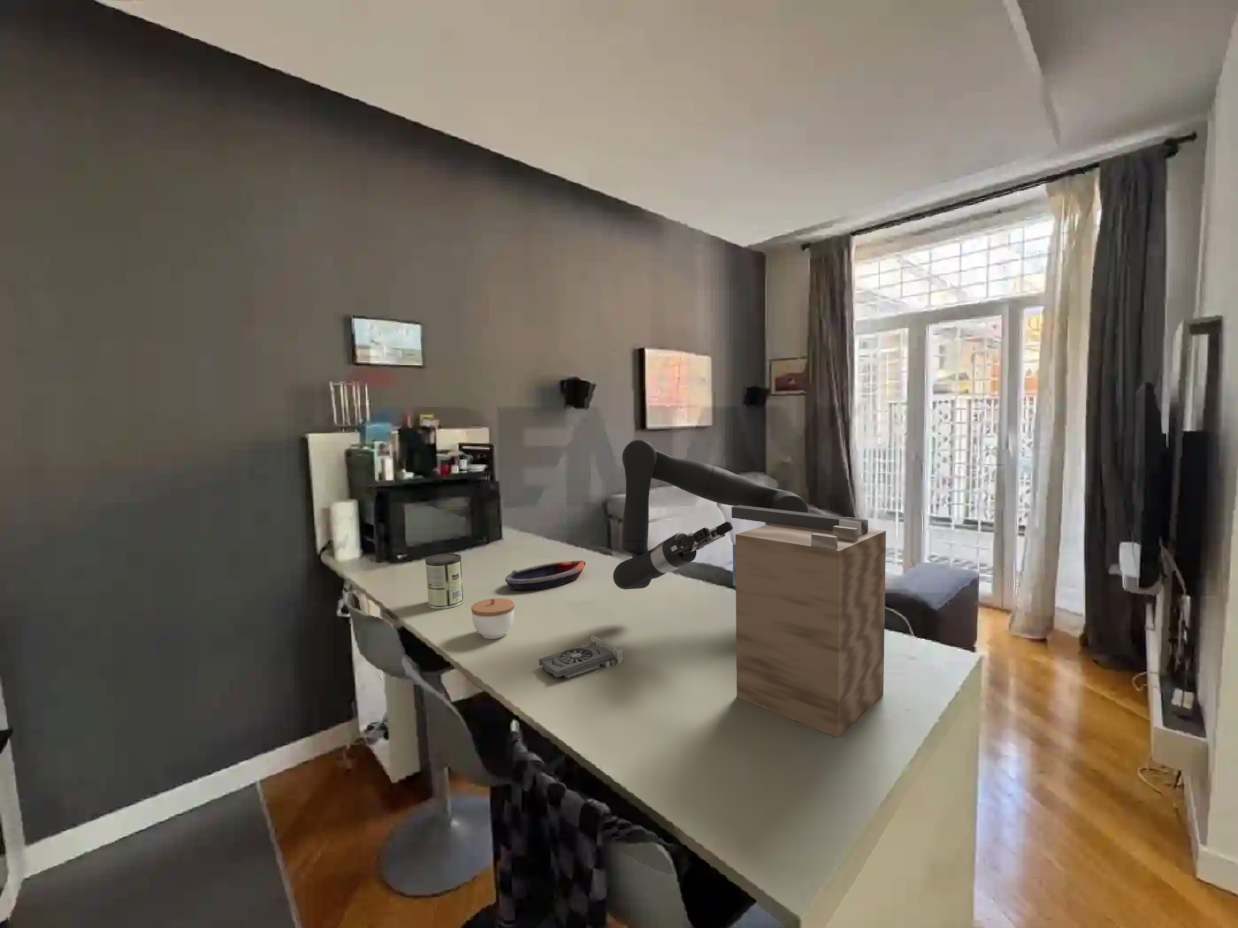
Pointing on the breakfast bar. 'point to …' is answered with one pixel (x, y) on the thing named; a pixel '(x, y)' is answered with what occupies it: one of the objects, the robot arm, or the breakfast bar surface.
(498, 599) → the lidded jar
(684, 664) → the breakfast bar surface
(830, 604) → the cabinet
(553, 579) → the dish
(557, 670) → the graphics card
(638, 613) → the breakfast bar surface
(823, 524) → the dark gray rectangular panel
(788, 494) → the robot arm
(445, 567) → the coffee can
